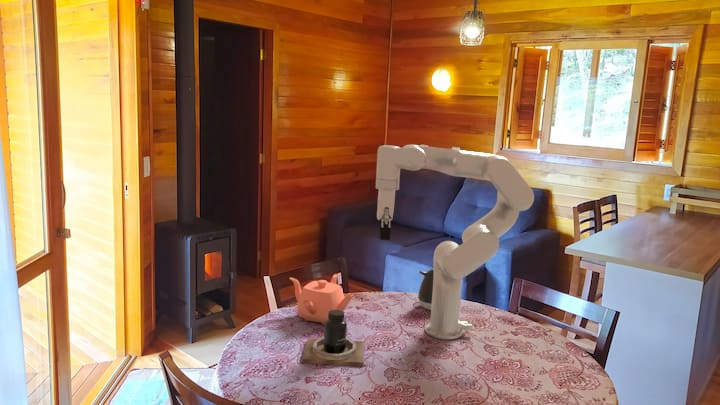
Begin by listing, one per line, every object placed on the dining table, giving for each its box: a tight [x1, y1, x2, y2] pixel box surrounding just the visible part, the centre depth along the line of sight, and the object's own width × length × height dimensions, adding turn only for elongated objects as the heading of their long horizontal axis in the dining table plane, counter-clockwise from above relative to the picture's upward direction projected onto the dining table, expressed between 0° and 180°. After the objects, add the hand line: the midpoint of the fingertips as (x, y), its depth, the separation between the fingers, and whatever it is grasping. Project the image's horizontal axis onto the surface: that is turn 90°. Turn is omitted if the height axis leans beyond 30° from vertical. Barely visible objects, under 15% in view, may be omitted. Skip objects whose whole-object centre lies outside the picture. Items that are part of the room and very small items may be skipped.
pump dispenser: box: [417, 268, 434, 311], centre depth 203 cm, size 10×10×15 cm
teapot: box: [289, 273, 354, 326], centre depth 189 cm, size 18×18×14 cm
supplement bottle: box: [323, 310, 348, 354], centre depth 163 cm, size 7×7×12 cm
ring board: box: [301, 336, 365, 367], centre depth 163 cm, size 18×14×3 cm
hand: (384, 235), depth 175 cm, fingers open, 9 cm apart
